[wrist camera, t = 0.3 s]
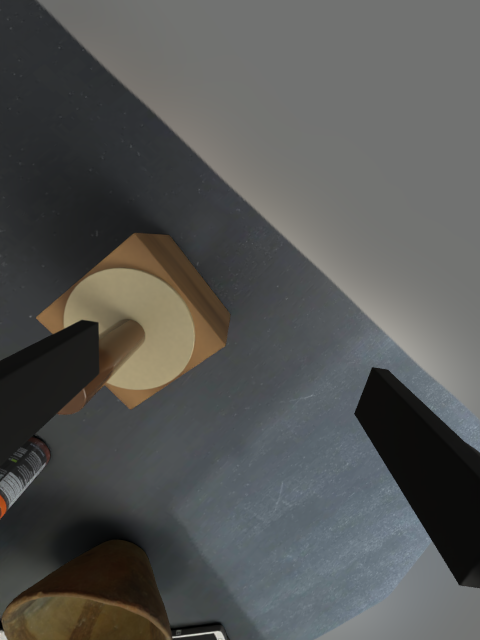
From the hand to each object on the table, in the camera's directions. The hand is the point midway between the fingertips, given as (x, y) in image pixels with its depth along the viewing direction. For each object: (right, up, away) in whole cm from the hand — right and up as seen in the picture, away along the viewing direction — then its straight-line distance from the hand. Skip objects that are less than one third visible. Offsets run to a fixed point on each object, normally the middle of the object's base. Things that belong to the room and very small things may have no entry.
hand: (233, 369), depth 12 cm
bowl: (-20, -38, +31) cm, 53 cm away
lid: (-8, +1, +8) cm, 12 cm away
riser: (-8, +4, +17) cm, 19 cm away
